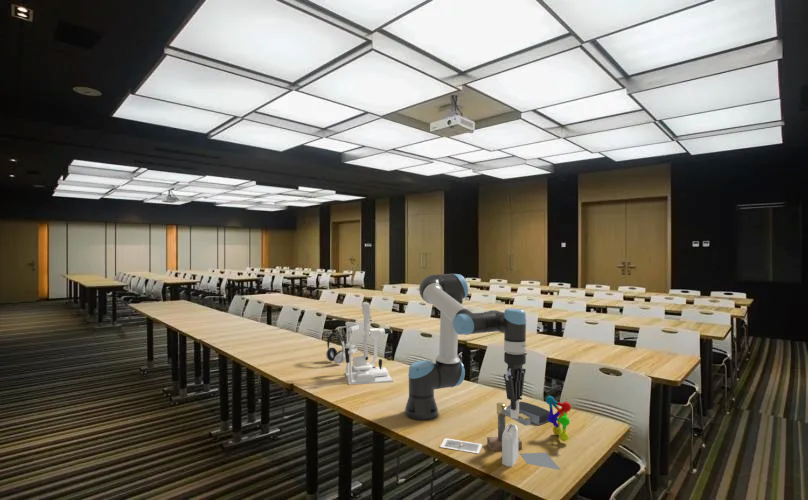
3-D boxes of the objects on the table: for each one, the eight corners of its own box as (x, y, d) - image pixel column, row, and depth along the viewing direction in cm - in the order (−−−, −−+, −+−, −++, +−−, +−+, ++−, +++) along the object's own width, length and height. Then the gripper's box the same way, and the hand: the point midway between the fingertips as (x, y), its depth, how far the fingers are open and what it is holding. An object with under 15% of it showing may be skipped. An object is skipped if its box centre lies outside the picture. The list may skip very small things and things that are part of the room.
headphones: (323, 360, 284) (322, 331, 284) (333, 358, 290) (333, 330, 290) (338, 366, 270) (338, 335, 270) (349, 363, 276) (349, 334, 276)
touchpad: (445, 440, 164) (445, 435, 164) (482, 447, 159) (482, 441, 159) (439, 449, 157) (439, 443, 157) (478, 456, 152) (478, 450, 152)
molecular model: (541, 429, 172) (541, 394, 171) (562, 427, 173) (563, 393, 172) (557, 449, 157) (557, 411, 156) (581, 447, 158) (581, 410, 157)
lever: (494, 412, 158) (494, 403, 158) (502, 411, 160) (502, 401, 160) (524, 428, 144) (524, 418, 144) (531, 426, 146) (531, 416, 146)
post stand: (490, 451, 155) (490, 416, 155) (487, 444, 160) (487, 411, 160) (521, 449, 155) (521, 415, 156) (517, 443, 160) (517, 410, 160)
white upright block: (508, 453, 153) (507, 420, 153) (519, 455, 151) (519, 422, 151) (500, 466, 144) (500, 430, 144) (512, 469, 142) (512, 433, 142)
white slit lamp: (394, 381, 238) (393, 304, 238) (347, 385, 232) (347, 305, 232) (386, 369, 261) (386, 299, 261) (344, 372, 255) (344, 300, 255)
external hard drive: (537, 426, 177) (537, 417, 177) (504, 413, 192) (504, 405, 192) (554, 419, 184) (554, 411, 184) (521, 407, 199) (521, 399, 199)
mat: (534, 475, 138) (534, 474, 138) (520, 454, 152) (520, 453, 152) (563, 473, 139) (563, 472, 139) (546, 453, 153) (546, 452, 153)
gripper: (516, 357, 141) (516, 426, 141) (532, 350, 151) (532, 415, 150) (496, 353, 146) (496, 420, 146) (513, 347, 156) (513, 410, 155)
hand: (514, 417), depth 148 cm, fingers closed
